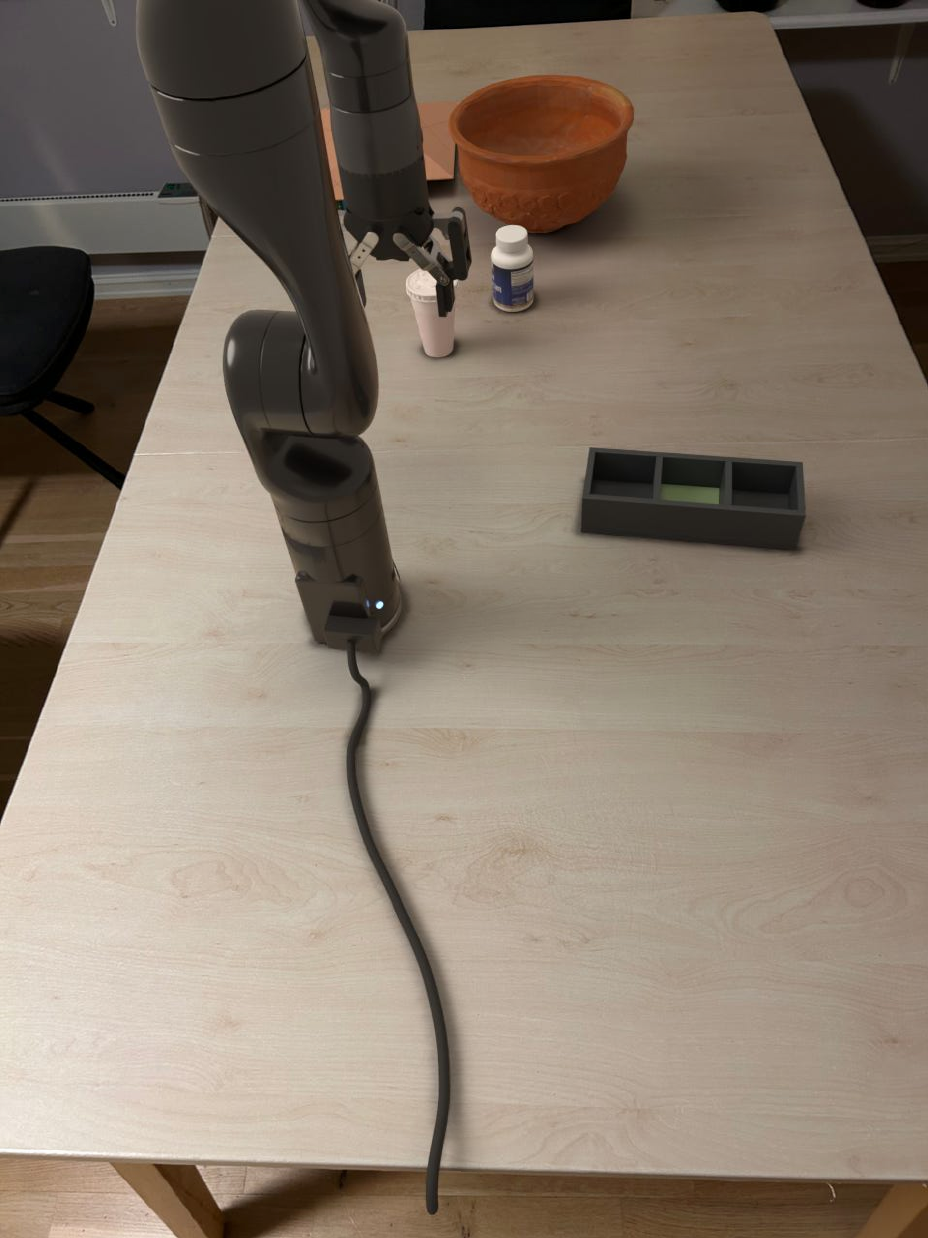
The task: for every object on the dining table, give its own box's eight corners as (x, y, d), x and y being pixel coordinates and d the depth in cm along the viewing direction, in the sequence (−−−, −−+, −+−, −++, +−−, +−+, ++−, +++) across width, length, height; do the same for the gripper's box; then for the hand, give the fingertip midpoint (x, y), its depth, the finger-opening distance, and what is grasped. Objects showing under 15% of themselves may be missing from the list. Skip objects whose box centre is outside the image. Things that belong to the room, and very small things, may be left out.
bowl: (658, 236, 132) (669, 127, 120) (495, 283, 127) (490, 174, 115) (580, 162, 146) (583, 58, 135) (432, 201, 142) (422, 98, 130)
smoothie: (458, 365, 117) (449, 263, 106) (408, 362, 118) (394, 260, 107) (468, 334, 120) (460, 232, 110) (420, 331, 122) (408, 230, 111)
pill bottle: (486, 297, 125) (482, 228, 118) (522, 285, 127) (520, 217, 119) (504, 317, 122) (501, 248, 115) (540, 305, 123) (540, 236, 116)
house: (459, 113, 160) (455, 61, 153) (454, 214, 139) (450, 159, 133) (327, 121, 161) (318, 70, 155) (302, 222, 141) (291, 168, 134)
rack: (795, 550, 94) (806, 515, 90) (580, 532, 98) (582, 498, 94) (792, 496, 99) (802, 461, 95) (587, 481, 103) (589, 446, 99)
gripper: (287, 169, 79) (324, 330, 92) (452, 172, 76) (466, 337, 89) (311, 124, 83) (343, 285, 96) (468, 126, 81) (479, 290, 94)
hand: (402, 310), depth 93 cm, fingers open, 8 cm apart
